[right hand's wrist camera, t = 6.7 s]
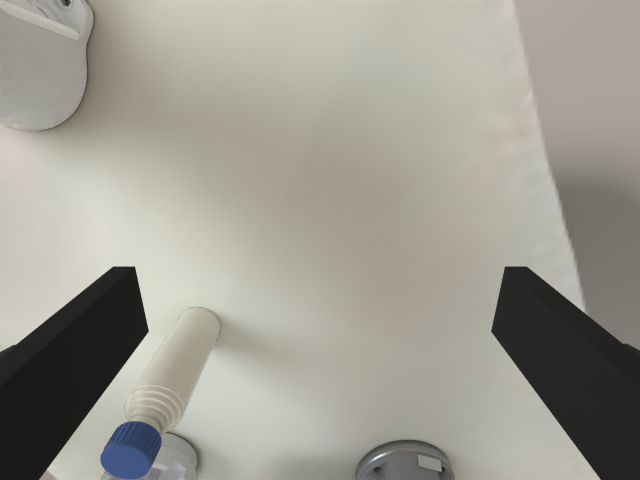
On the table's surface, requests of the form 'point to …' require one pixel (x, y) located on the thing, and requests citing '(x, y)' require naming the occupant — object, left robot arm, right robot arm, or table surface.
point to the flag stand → (169, 461)
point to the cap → (131, 450)
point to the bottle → (173, 371)
